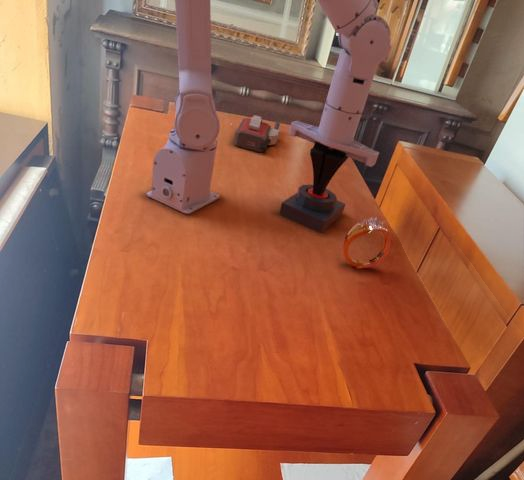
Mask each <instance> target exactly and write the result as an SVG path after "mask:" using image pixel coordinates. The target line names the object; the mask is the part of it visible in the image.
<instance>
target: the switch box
mask: <svg viewBox="0 0 524 480" xmlns="http://www.w3.org/2000/svg"><path fill="white" fill-rule="evenodd" d="M309 188H313V184H302V185H300V186H299V187H298V188H297V189H298V190H297V192H295V194H293V195H290V197H288V198H286V199H285V200H284V201H282V202H281V204H280V209H279V212H278V215H279V216H281V217H284V218H286V219H288V220H290V221H292V222H294V223H297V224H300V225H302V226H304V227H306V228H309V229H311V230H313V231H316V232H318V233H320V234H323V232H324V231H326V230H327V229H328V228H329V227H330V226H331V225H333V223H335V222H336V221H337V220H338V219H339V218H340V217H341V216H343V213H344V210H345V207H346V203H345V202H343V201H340V200H338V197H337V195H336V194H335V193H334V192H332V190H330V189H327V188H326V189H325V192H326V193H327V194H328V198H327V199H319V198H315V197H313V196H311V195H309V194H308V193H307V191H308V189H309Z"/></svg>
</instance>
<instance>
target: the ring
mask: <svg viewBox="0 0 524 480" xmlns="http://www.w3.org/2000/svg"><path fill="white" fill-rule="evenodd" d="M386 223H387V222H386V221H385V220H383V221H380V220H379V221H378V217H377V216H375V217H373V216H370V218H366V219H365V218H364V219H363V220H361V221H359V222H357V223H356V224H354V225H353V227H351V228H350V230H349V231H348V232H347V234H346V236H345V237H344V239H343V242H342V253H343V256H344V259H345V261H346V262H347V263H348V264H349V265H350V266H353V267H355V268H356V269H359V270H361V269H366V268H371V267H373V266H377V265H378V264H379V263H381V262H382V261H383V260H384V259H385V258H386V257H387V255H388V253H389V252H390V249H391V246H392V236H391V233H390V232H389V230H388V229H387V228H385V227H384V226H385V225H386ZM371 232H379V233H380V234H381V236H382V238H383V245H382V247H381V250H380V252H379V253H378V254H377V255H376V256H375V257H374V258H372V259H369V260H367V261H362V259H357V260H355V259H353V258H352V257H351V256H350V254H349V248H350V246H351V244H352V242H354V241H355V240H357V238H359V237H361V236H364V235H367V234H370V233H371Z"/></svg>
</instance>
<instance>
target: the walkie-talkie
mask: <svg viewBox="0 0 524 480" xmlns="http://www.w3.org/2000/svg"><path fill="white" fill-rule="evenodd" d="M263 119H264V117H263V116H260V115H256V114H252V117H251V118H249V117H246V118H243V119H241V122H240V123H239V126H238V128H237V130H236V131H235V136H234V141H233V144H234V145H235V146H236V147H238V148H242V149H245V150H248V151H252V152H255V153H256V152H257V153H264V151H266V150H267V147H268V146H272V145H273V146H275V145H276V144H277V142H278V140H279V137H280V133H281V130H280V129H279V128H280V122H278V121H276V122H275V123H274V127H273V128H272V125H270V124H269V123H267V122H265V121H263Z"/></svg>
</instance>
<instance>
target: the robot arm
mask: <svg viewBox="0 0 524 480" xmlns="http://www.w3.org/2000/svg"><path fill="white" fill-rule="evenodd" d="M317 3H318V4H319V6H320V7H321V9H322V10H323V12H324V13H325V15H326V18H327V19H328V21H329V23H330V25H331V26H332V28H333V30H334V31H335V33H337V34H338V35H337V38H338V45H339V46H340V47H341V49H340V51H339V55H338V58H337V62H336V64H335V68H334V71H333V74H332V78H331V82H330V86H329V89H328V91H327V92H328V93H327V95H326V100H325V104H324V107H323V110H322V113H321V118H320V121H319V125H318V126H316V125H312V124H309V123H305V122H303V121H299V120H295V121H291V123H290V127H289V132H288V136H291V137H294V138H295V137H298V138H300V139H302V140H305V141H307V142H309V143H313V146H312V148H311V149H309V150H310V151H309V155H310V156H309V157H310V160H311V164H312V176H313V181H312V182H313V183H312V185H313V192H312V193H314V194H316V195H319V196H320V195H322V194H323V193H324V191H325V189H327V187H328V185H329V184H330V182H331V180H332V179H333V177H334V176H335V174H336V173H337V171H338V170H339V169H340V168H341V167H342V166H343V164H344V163H345V162H346V161H347V160H348V159H349V158H350V159H354V160H355V161H358V162H361V163H363V164H365V166H367V167H370V168H372V167H373V166H374V165H376V163H377V160H378V158H379V155H380V152H379V151H378V150H374V149H372V148H370V147H368V146H366V145H364V144H362V143H361V142H359V141H357V140H355V137H356V133H357V129H358V127H359V124H360V121H361V117H362V115H363V112H364V108H365V106H366V102H367V100H368V96H369V93H370V90H371V88H372V84H373V81H374V77H375V74H376V72H377V68H378V66H379V65H380V64H381V63H382V62H383V61H385V59H386V58H387V56H388V55H389V53H390V52H391V49H392V45H391V36H392V34H391V33H392V32H391V28H390V26H389V24H388V22H387V21H386V20H385V19H384V18H383V17H381V16H379V15H378V14H377V13H376V12H377V9H378V8H379V6H380V4H379V2H378V0H317ZM174 5H175V6H174V8H175V9H174V10H175V25H176V26H175V27H176V44H177V45H176V47H177V62H178V85H179V86H178V87H179V88H178V91H177V94H176V96H175V98H174V99H175V100H174V112H175V116H174V123H173V125H174V126H173V127H172V129H170V130H169V134H168V139H167V141H166V144H165V145H164V146H163V147H162V148H161V149H159V150H158V151H157V152H156V154H155V155H154V158H153V167H152V179H151V190H149V191H147V192H146V197H148V198H150V199H153V200H155V201H157V202H159V203H161V204H163V205H166V206H168V207H170V208H172V209H174V210H176V211H178V212H181V213H183V214H185V215H191V214H192V213H194V212H196V211H198V210H200V209H202V208H203V207H205V206H207V205H209V204H211V203H213V202H215V201H217V200H219V199H220V195H219V194H218V193H215V192H213V191H211V186H212V180H213V174H214V173H213V172H214V167H215V160H216V153H217V148H218V147H217V146H218V140H217V138H218V136H219V133H220V129H221V126H220V123H221V122H220V119H219V116H218V114H217V113H218V112H217V103H216V100H215V97H214V94H213V80H212V30H211V29H212V28H211V27H212V26H211V25H212V22H211V17H212V15H211V0H174Z"/></svg>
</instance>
